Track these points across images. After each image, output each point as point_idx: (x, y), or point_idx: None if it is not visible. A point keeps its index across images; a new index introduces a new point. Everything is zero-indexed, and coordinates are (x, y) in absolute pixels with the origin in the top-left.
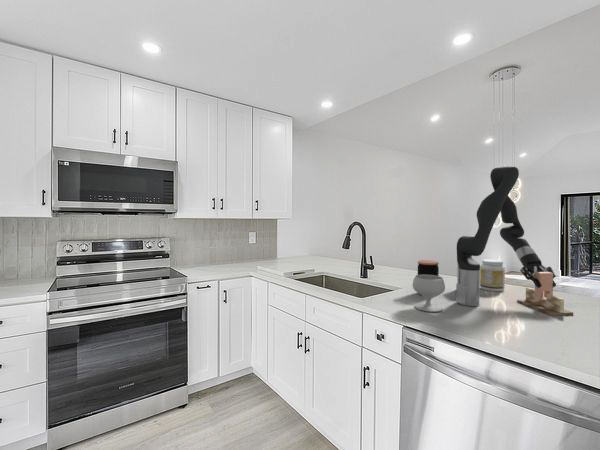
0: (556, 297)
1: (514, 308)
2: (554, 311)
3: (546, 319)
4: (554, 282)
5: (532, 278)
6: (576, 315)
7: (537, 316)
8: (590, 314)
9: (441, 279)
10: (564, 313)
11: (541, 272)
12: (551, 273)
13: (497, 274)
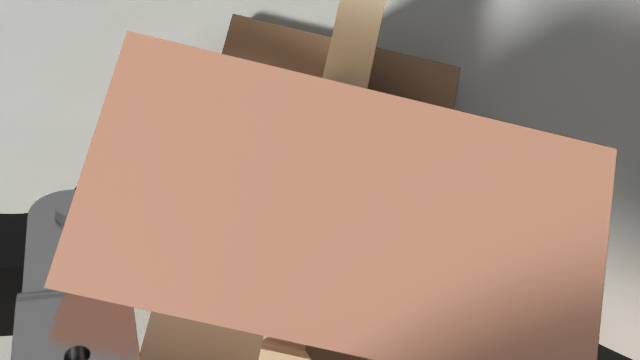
0: (371, 28)
1: (611, 343)
2: (382, 86)
3: (583, 16)
4: None
5: (599, 354)
6: (206, 18)
7: (591, 91)
8: (35, 3)
9: None
10: (321, 38)
11: (433, 262)
12: (199, 53)
13: None
